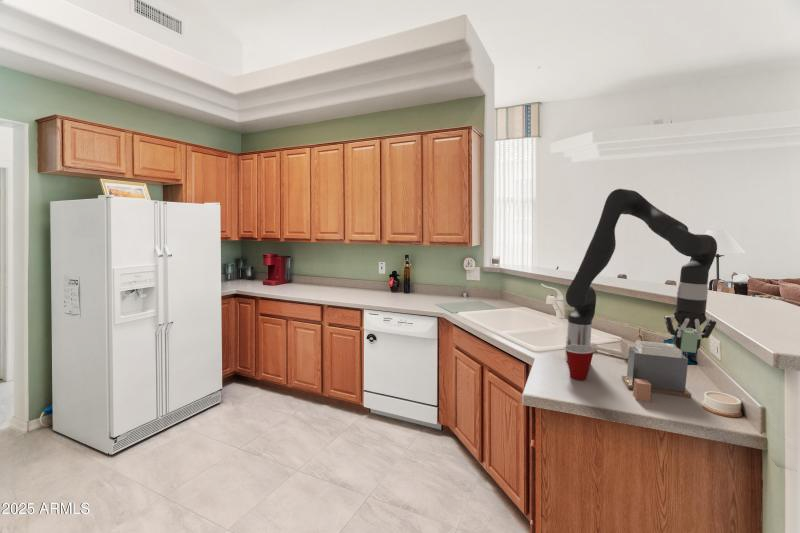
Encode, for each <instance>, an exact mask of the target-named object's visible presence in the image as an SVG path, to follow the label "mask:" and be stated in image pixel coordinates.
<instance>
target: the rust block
mask: <svg viewBox="0 0 800 533" xmlns="http://www.w3.org/2000/svg"><path fill="white" fill-rule="evenodd" d="M651 393H652V392H651V384H650V383H649V381H648V380H642V379H634V388H633V391H632V396H633V398H634V397H635V398H634V399H635V401H639V400H642V402H646V401H649V402H648V403H650V402H651Z"/></svg>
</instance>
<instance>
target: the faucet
mask: <svg viewBox="0 0 800 533" xmlns="http://www.w3.org/2000/svg"><path fill="white" fill-rule="evenodd" d="M607 338H608V339H612V337H610V336H609V337H606V339H607ZM613 339H614V340H617V341H618V340H619V341H620V342H619V347H620V349H621V350H619V349H615V348H611V347H609V348H608V347H605V346H604V347H603V346H599V345H597V343H596V342H593V341H590V347H593V348H594V349H595V352H597V350H598V351H600V352H601V351H602V352H604V353H608V354H610V355H613V356H619V357H622V359H624V360H628V356H629V344H628V343H627V341H626V340H624V339H622V338H620V337H613ZM595 352H594V353H595Z"/></svg>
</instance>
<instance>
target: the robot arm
mask: <svg viewBox="0 0 800 533" xmlns="http://www.w3.org/2000/svg"><path fill="white" fill-rule="evenodd" d="M621 215H629V216H632V217H636V218H637V219H640V220H642V221H643V222H644V223H645V224H646V226H647V227H648V228H649V230H651V231H652V232H653V233H655V235H658V237H660V238H662V239H664V240H665V241H667V242H668V243H669V244H670V245H671V247H673V249H675V250H676V251H677V252H678V253H679V254H681V255H683V256H686V257H690V260H689V261H688V263H686V264H683V265H682V266H681V269H680V275H679V277H680V279H679V283H678V288H677V293H676V305H675V306H676V307H675V311H674V314H672V315H664V316H663V319H664V323H665V326H666V329H667V332H668V334H670V335H672V336H674V338H673V344H674V345H675V346H676V347H677V348H680V346H681V336H682V332H683V331H686V329H689V328H690V329H692V330H691V331H693V332H695V333H696V334H698V340H697V349H696V351H698V350H699V349H700V348H701V341H702V339H708V338H710V335H711V334H712V332H713V330H714V328H715V327H716V324H717V321H716V320H714V319H711V318H707V316H706V313H707V312H706V311H707V304H708V303H707V302H708V291H709V290H708V285H709V284H708V283H709V275H710V270H711V267H712V265H713V262H714V260H715V258H716V255H717V252H718V243H717V241H716V238H715V237H713V236H712V235H709V234H700V233H699V234H697V233H696V234H694V233H692V232H690V231H689V227H688V226H687V225H686V224H685V223H683V222H681V221H680V220H678V219H677V218H675V217H673V216H671V215H669V214H667V213H665V212H664V211H662V210H660V209H659V208H658V207H656V206H654V205H653V204H652V203H651V202H650V201H648V200H647V198H645V197H644V196H643V195H641V194H640V193H639V192H638V191H636V190H633V189H627V188H625V189H624V188H615V189H613V190H612V191H611V192H610V193H609V194H608V196H607V198H606V199H605V202H604V204H603V209H602V211H601V215H600V218H599V221H598V223H597V226H596V227H595V228H596V229H595V232H594V234H593V236H592V239H591V241H590V243H589V245H588V246H587V249H586V252H585V254H584V257H583V259H582V261H581V263H580V265H579V268H578V270H577V272H576V274H575V276H574V278H573V280H572V281H571V282H570V284H569V286H568V288H567V290H566V293H565V301H566V304H567V305H568V306H570V307H571V308H574V309H573V310H572V312H570V313H569V314H568V318H567V331H566V332H567V333H566V338H565V339H566V340H565V346H567V345H585V346H590V343H591V342H592V341H591V339H592V323H593V319H594V317H595V314H596V313H595V312H596V305H597V294H596V291H595V289H594V288H593V287H592V286H591V285H592V283H593V281H594V280H595V278H597V276H599V275H600V273H601V272H602V271H603V270H604V269H605V268H606V267H607V266H608V264H609V263H610V261H611V259H612V256H613V255H614V252H615V249H616V246H617V244H616V243H617V242H616V226H617V224H618V221H619V219H620V217H621ZM674 320H675V321H676V322H677V324H676V329H674V324H673V323H674ZM703 324H705V326H704V327H703V330H701V325H703ZM564 357H565V361H566V362H567V363H568V358H567V353H566V352H565V355H564Z"/></svg>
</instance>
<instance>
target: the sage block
mask: <svg viewBox="0 0 800 533" xmlns="http://www.w3.org/2000/svg"><path fill="white" fill-rule="evenodd" d="M697 340H698V334H696V333H695V332H693V330H685V331H683V332H682V336H681V346H680V348H678V349H679V350H680V351H682V352H683V353H684V352H685V353H692V354H693V353H695V354H697V350H698V349H697ZM696 349H697V350H696Z"/></svg>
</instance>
